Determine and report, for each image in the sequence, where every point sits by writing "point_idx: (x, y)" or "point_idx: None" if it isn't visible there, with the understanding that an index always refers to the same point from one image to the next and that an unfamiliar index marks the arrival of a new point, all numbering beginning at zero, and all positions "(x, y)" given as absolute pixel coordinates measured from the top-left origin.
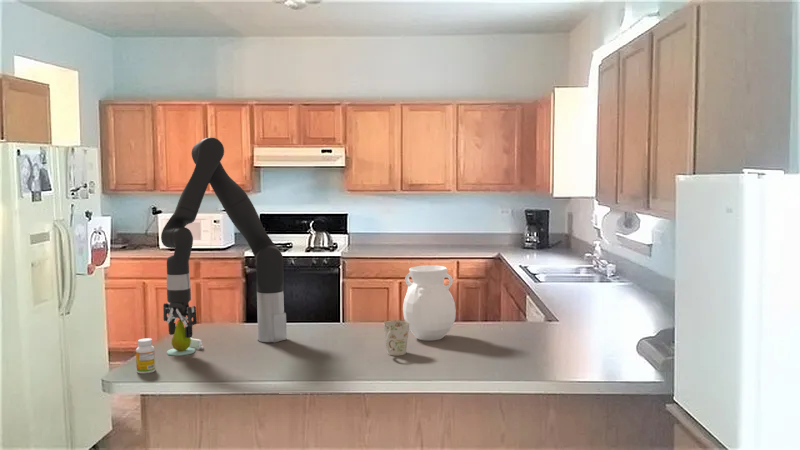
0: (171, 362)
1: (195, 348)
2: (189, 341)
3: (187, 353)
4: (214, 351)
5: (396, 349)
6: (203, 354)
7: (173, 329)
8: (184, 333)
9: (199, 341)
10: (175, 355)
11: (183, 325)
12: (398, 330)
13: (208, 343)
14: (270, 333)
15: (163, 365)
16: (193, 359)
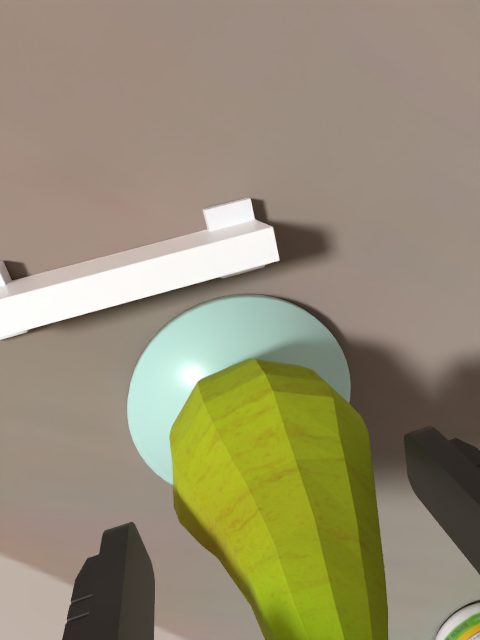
0: (427, 512)
1: (230, 274)
2: (345, 401)
3: (349, 391)
4: (410, 171)
5: None
6: (421, 288)
7: (137, 595)
8: (373, 507)
9: (276, 256)
10: None
11: (373, 594)
12: None
13: (55, 33)
14: None
15: (446, 555)
16: (476, 393)
